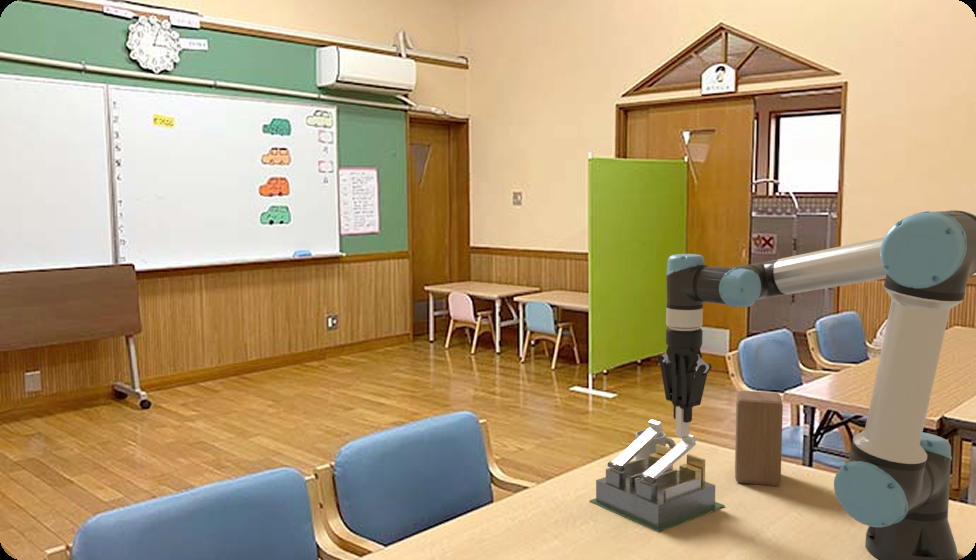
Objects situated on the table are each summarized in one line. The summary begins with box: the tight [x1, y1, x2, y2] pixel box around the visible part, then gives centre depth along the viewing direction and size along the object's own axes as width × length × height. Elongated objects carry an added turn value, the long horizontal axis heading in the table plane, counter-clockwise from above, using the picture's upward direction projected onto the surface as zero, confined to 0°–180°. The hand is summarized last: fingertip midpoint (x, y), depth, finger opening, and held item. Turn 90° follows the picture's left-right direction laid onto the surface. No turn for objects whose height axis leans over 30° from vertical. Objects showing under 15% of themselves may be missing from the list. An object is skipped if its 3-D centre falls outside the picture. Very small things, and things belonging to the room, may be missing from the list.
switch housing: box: [589, 444, 726, 533], centre depth 172 cm, size 20×21×10 cm
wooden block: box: [734, 390, 784, 487], centre depth 187 cm, size 10×10×20 cm
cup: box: [635, 429, 677, 465], centre depth 194 cm, size 7×10×9 cm
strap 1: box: [638, 433, 697, 484], centre depth 167 cm, size 4×15×2 cm, turn 126°
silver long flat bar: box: [607, 419, 664, 472], centre depth 174 cm, size 4×15×2 cm, turn 126°
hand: (682, 435), depth 170 cm, fingers closed
